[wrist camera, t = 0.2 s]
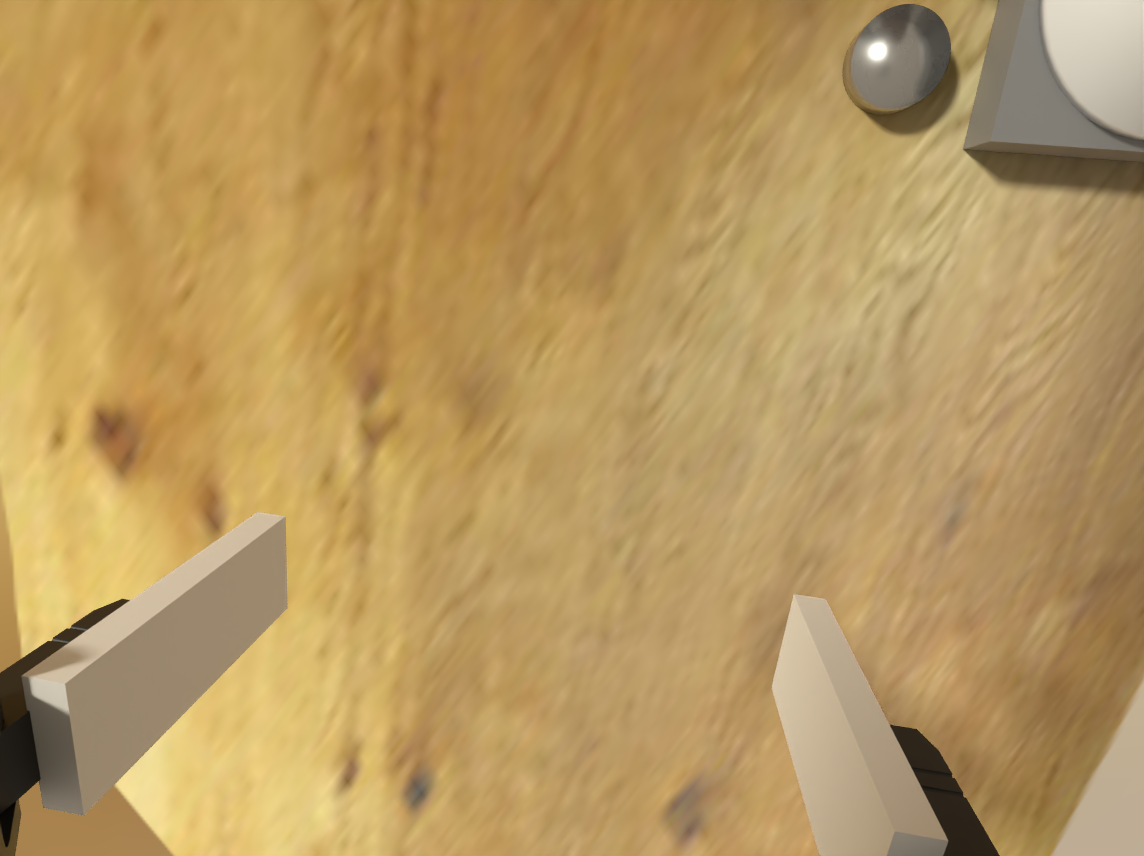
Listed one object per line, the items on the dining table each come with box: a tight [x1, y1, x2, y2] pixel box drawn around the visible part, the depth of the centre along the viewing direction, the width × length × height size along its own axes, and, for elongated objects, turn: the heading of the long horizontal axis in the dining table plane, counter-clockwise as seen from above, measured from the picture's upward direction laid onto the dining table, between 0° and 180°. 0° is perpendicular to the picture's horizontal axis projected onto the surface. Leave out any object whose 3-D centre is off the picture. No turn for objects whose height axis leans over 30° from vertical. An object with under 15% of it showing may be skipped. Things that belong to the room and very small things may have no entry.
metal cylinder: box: [843, 4, 951, 115], centre depth 35 cm, size 5×5×2 cm
